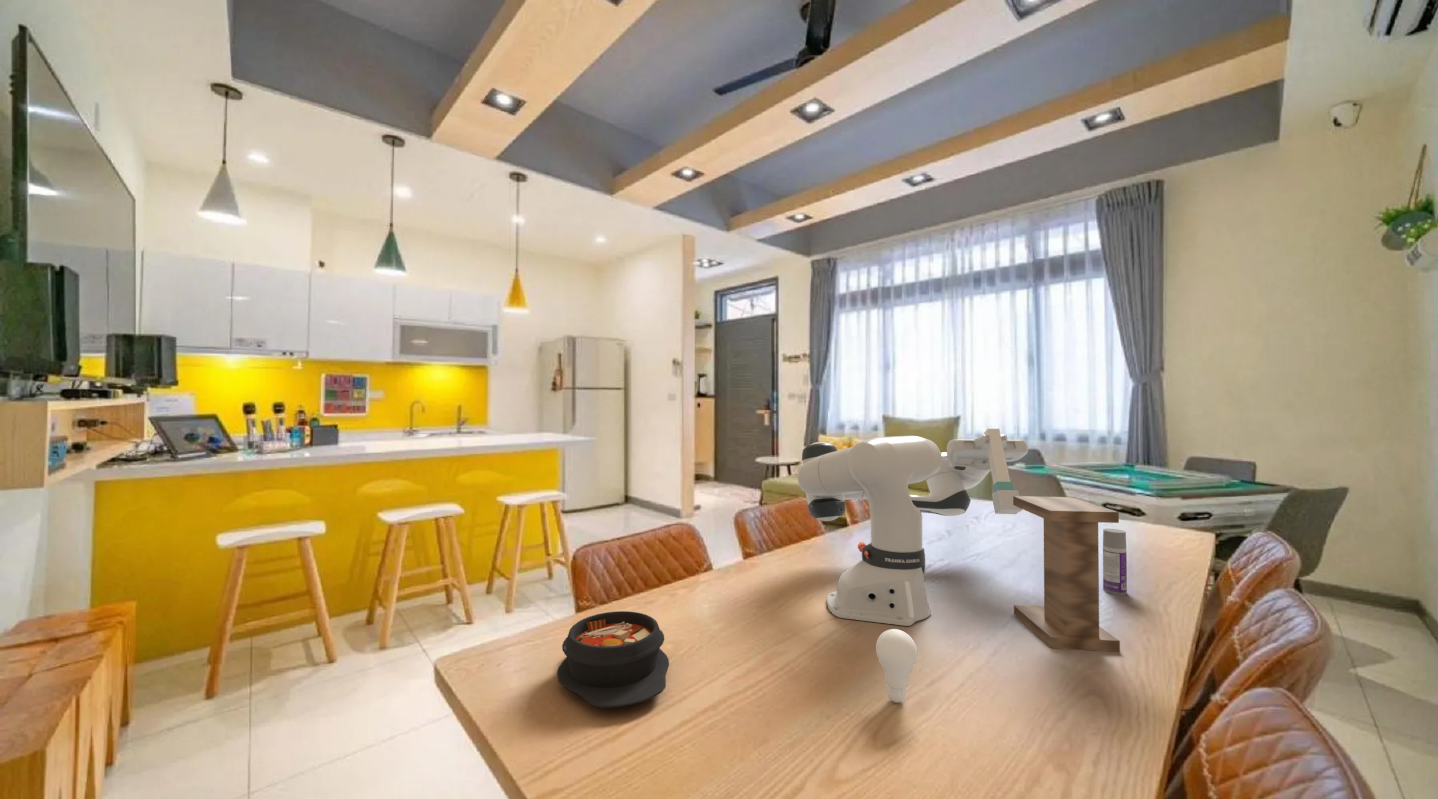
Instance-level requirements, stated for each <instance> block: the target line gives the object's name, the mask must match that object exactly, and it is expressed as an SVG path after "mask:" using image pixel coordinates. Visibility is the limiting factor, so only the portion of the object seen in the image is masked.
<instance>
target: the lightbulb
mask: <svg viewBox="0 0 1438 799" xmlns="http://www.w3.org/2000/svg"><path fill="white" fill-rule="evenodd" d="M875 643H876V644H875V652H876V656H877V659H878V660H879V663H880V665H881V666H882V668H883V671H884V675H885V682H886V685H887V697H888V698H889V699H890V700H891V701H892V702H893V703H896V704H899V703H901V702H904V701H905V699H906V692H907V691H906V688H907V687H908V678H909V676H910V673H911V671H912V669H913V668H914V667H915V664H916V662H917V660H918V648H917V645H916V642H915V641H914V640H913V638H912V637H911V636H910V635H909V634H908V633H907V632H905V631H903V630H900V629H897V628H892V629H891V628H890V629H887V630H884V631H883V632H882V633H881V634H879V636H878V638H877V640H876V642H875Z"/></svg>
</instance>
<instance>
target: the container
mask: <svg viewBox="0 0 1438 799" xmlns="http://www.w3.org/2000/svg"><path fill="white" fill-rule="evenodd" d="M1102 533H1103V534H1102V590H1103V591H1104V592H1107V593H1109V594H1112V595H1113V594H1114V595H1119V596H1121V595H1122V596H1123V595H1127V594H1128V592H1127V591H1128V589H1127V588H1128V583H1127V582H1128V581H1127V580H1128V576H1127V574H1128V573H1127V572H1128V567H1127V564H1128V562H1127V560H1128V559H1127V558H1128V557H1127V556H1128V555H1127V534H1126V533H1127V532H1126V530H1122V529H1117V528H1103V530H1102Z"/></svg>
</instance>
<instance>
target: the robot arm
mask: <svg viewBox="0 0 1438 799" xmlns="http://www.w3.org/2000/svg"><path fill="white" fill-rule="evenodd" d="M989 437H990V436H989V435H984V434H983V435H981V436H980V437H978V438H975V439H969V438H968V439H960V438H959V439H957V438H956V439H955V438H954V439H951V440H949V441H948V442H947V445H946V451H944V452H943V451H942V452H941V450H940V448H939V446H938V445H937V444H936V443H935V442H934V441H932V440H931V439H929V438H925V437H922V436H917V435H900V436H899V435H895V436H877V437H876V436H875V437H871V438H868V439H865V440H863V441H859V442H858V443H855V445H853V446H850V447H846V448H842V449H839V450H838V448H837V447H836V446H835V445H834V444H833V443H831V442H827V441H826V442H825V441H816V442H813V443H810V444H808V445H806V446H805V447H804V448H803V449H802V454H801V461H802V465H801V466H800V467H799V470H798V472H797V483H798V485H799V487H800V489H801V491H803V493H805V496H806V500H807V504H808V505H807V509H808V511H809V514H810V516H811V517H812V518H814V519H817V520H819V521H823V522H830V521H835V520H836V519H838V518H840V517H842V516H843V515H844V514H845V512H846V506H847V505H846V504H847V502H846V500H847V501H848V500H867V503H868V508H869V513H870V514H869V515H870V543H869V544H867V543H865V542H862V541H861V542H859V543H858V544H857V549H858V551H859V552H860V553H861V560H860V561H859V562H857V563H856V564H854V565H852V566H851V567H850V568H847V570H845V571H843V572H842V573H841V574H840V577H839V579H838V581H837V587H836V591H831V592H830V593H828V595H827V597H826V605H828V606H827V609H828V610H829V612H830V613H831V612H832V613H831V614H833V615H834V616H836V617H837V618H841V619H846V620H847V619H848V620H857V621H864V622H871V623H880V624H888V625H897V626H906V627H909V626H912V625H913V624H915V622H919V621H922V620H925V619H927V618H929V617H930V616H931V612H932V610H931V608H930V604H929V602H928V597H927V591H926V585H925V584H926V583H925V577H924V574H925V573H926V571H925V570H926V553H925V548H924V547H923V514H922V513H925V514H935V515H939V516H946V517H956V516H959V515H963V514H965V513H966V512H967V510H968V508H969V507H970V504H971V498H970V495H969V492H968V491H967V490H970V489H972V488H974V487H976V486H977V485H979V484H980V483H981V482H983V480H984V479H985V478H986V476H987V475H988V474H989V473H991V468H990V463H989V457H988V452H987V447H986V443H989V441H990V438H989ZM1001 439H1002V444H1003V449H1004V453H1005V458H1006V463H1007V462H1009V463H1010V462H1012V463H1013V462H1016V461H1019V460H1020V459H1022V458H1023V457H1024V456H1026V455H1027V454H1028V453H1029V448H1028V444H1027V442H1026V441H1025V440H1023V439H1008V435H1007V434H1001ZM924 481H925V482H926V484H927V488H928V491H929V493H930V496H926V495H916V494H910V491H909V485H912V484H918V483H921V482H924Z"/></svg>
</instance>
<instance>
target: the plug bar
mask: <svg viewBox="0 0 1438 799" xmlns="http://www.w3.org/2000/svg"><path fill="white" fill-rule="evenodd" d="M983 435H989V436H990V437H989V438H990V441H989V443H986V447H987V452H988V457H989V463H990V468H991V471H990V473H991V478H992V482H993V485H992V489H993V493H992V494H991V498H992V504H993V508H994V510H993V511H994V513H995V515H996V514H997V515H1017V514H1018V513H1020V512H1022V511H1023V509H1021V508H1019V507H1016V506H1014V505H1013V496H1020V494H1019V490H1018V489H1017V490H1014V484H1013V481H1011V479H1010V473H1009V468H1008V464H1007V462H1006V458H1005V453H1004V449H1003V444H1002V439H1001V435H1002V434H1001V431H1000V428H987V429H986V430H985V431H984V433H983Z"/></svg>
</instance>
